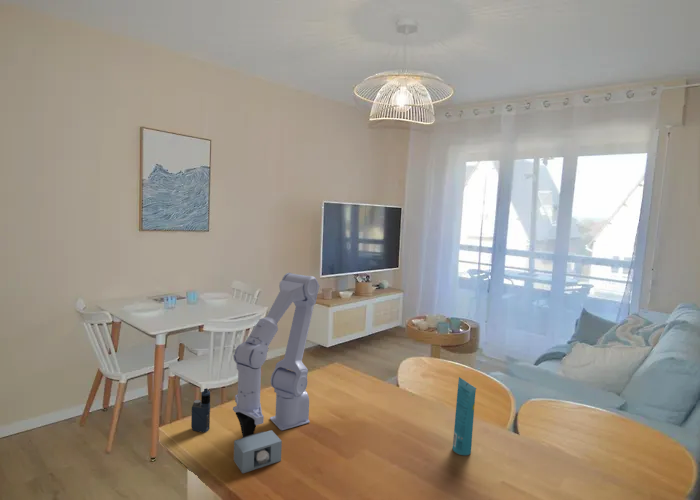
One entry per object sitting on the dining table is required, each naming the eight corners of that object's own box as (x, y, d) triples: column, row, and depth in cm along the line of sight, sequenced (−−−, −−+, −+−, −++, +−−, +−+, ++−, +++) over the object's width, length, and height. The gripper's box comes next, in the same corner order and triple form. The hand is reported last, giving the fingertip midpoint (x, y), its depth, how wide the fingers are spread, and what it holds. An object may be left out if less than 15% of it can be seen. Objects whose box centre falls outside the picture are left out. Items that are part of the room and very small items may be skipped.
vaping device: (206, 433, 114) (207, 391, 113) (189, 430, 115) (190, 389, 114) (211, 428, 117) (212, 387, 115) (194, 426, 118) (195, 385, 116)
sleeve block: (281, 460, 103) (281, 441, 103) (242, 473, 98) (243, 452, 97) (270, 447, 109) (270, 429, 108) (233, 459, 103) (233, 439, 102)
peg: (270, 462, 101) (270, 448, 101) (256, 467, 99) (256, 453, 99) (258, 448, 107) (259, 435, 106) (245, 452, 105) (245, 439, 104)
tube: (477, 456, 110) (483, 386, 108) (463, 460, 108) (469, 389, 106) (459, 441, 116) (464, 376, 115) (445, 445, 114) (450, 378, 112)
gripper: (224, 381, 111) (223, 430, 112) (244, 403, 99) (243, 457, 100) (249, 376, 115) (248, 423, 116) (272, 397, 103) (270, 448, 104)
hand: (247, 438), depth 108 cm, fingers closed
